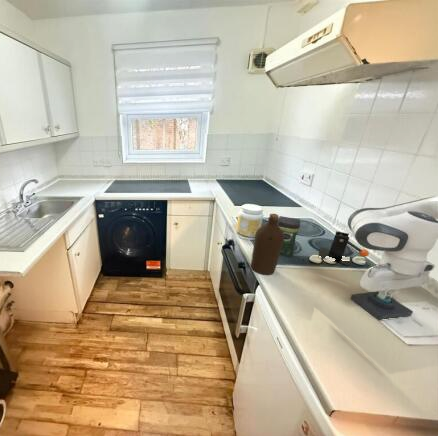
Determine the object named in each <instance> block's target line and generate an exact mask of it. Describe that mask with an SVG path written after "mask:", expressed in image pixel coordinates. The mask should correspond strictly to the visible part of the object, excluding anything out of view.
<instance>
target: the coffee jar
mask: <svg viewBox="0 0 438 436" xmlns="http://www.w3.org/2000/svg"><path fill="white" fill-rule="evenodd" d="M277 225H278V226H279V228H280V229H281V230H282V232H283V234H284V243H283V246H282V249H281V252H280V255H279V257H285V258H292V257H293V256H294V252H295V246H296V245H295V244H296V238H297V234H298V233H299V231H300V229H301V219H300V218H295V217H288V216H282V215H280V216H279V217H278V223H277Z"/></svg>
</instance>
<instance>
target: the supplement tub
mask: <svg viewBox="0 0 438 436" xmlns="http://www.w3.org/2000/svg"><path fill="white" fill-rule="evenodd" d="M263 212H264V208H263V207H262V206H261V205H258V204H253V203H245V204H242V205H241V207H240V210H239V212H238V217H237V223H236V230H235V234H236V236H237V237H238V238H240V239H242V240H246V241H254V240H255V234H256V232H257V230H258V229H259V228H260V227H261V226H263V220H264V213H263Z"/></svg>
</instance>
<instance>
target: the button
mask: <svg viewBox="0 0 438 436" xmlns="http://www.w3.org/2000/svg"><path fill="white" fill-rule="evenodd" d="M376 298H377V299H379V300H381V301H383V302H387V303H390V302H391V299H390V298H388V299H381V298H380V297H378V294H377V295H376Z"/></svg>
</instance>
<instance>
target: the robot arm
mask: <svg viewBox="0 0 438 436" xmlns="http://www.w3.org/2000/svg"><path fill="white" fill-rule="evenodd" d="M347 226H348V228H349V229H350V231H351V233H352V234H353V237H354V239H355V240H356V243H357V244H358V245H359V246H361V247H362V248H364V249H366V250H370V251H371V250H372V251H379V252H383V254H382V256H381V258H380V260H379V263H380V264H378V263H376V264H374V265H373V266H371V267H369V268H368V269H366V271H365V272H364V273H363V276H362V277H361V279H360V281H359V286H360V287H361V288H363V289H364V290H365V291H367V292H368V293H369V292H377V291H379V294H378V297H380V298H381V299H388V298H391V297H392V296H393V295H394V294H396V293H397V292H398V291H399V290H400V289H410V288H418V287H420V286H422V285H424V283H425V282H426V280H427V278H428V277H429V275H430V273H431V271H434V269H435V267H436V265H435V264H434V263H432V262H430V261H428V260H427V259H428V254H429V252H430V251H431V250H432V249H433V248H434V246H435V244H436V242H437V240H438V195H433V196H430V197H425V198H421V199H416V200H410V201H407V202H404V203H399V204H394V205H391V206H386V207H364V208H360V209H357V210H355V211H353V212H352V213H351V214H350V215H349V217H348V219H347ZM392 298H393V297H392Z"/></svg>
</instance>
